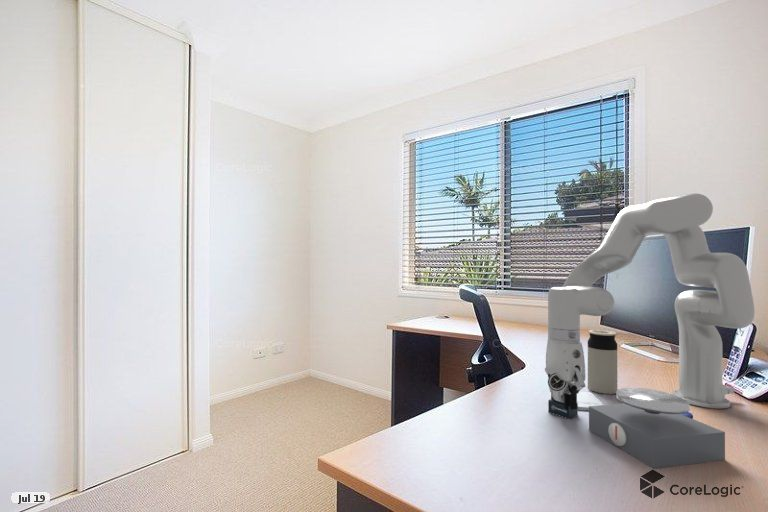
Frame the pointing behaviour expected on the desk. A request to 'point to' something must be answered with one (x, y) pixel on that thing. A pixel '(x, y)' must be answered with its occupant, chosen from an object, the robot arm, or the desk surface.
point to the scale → (657, 435)
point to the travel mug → (602, 361)
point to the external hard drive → (587, 400)
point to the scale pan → (653, 401)
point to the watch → (559, 397)
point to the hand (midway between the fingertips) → (563, 404)
